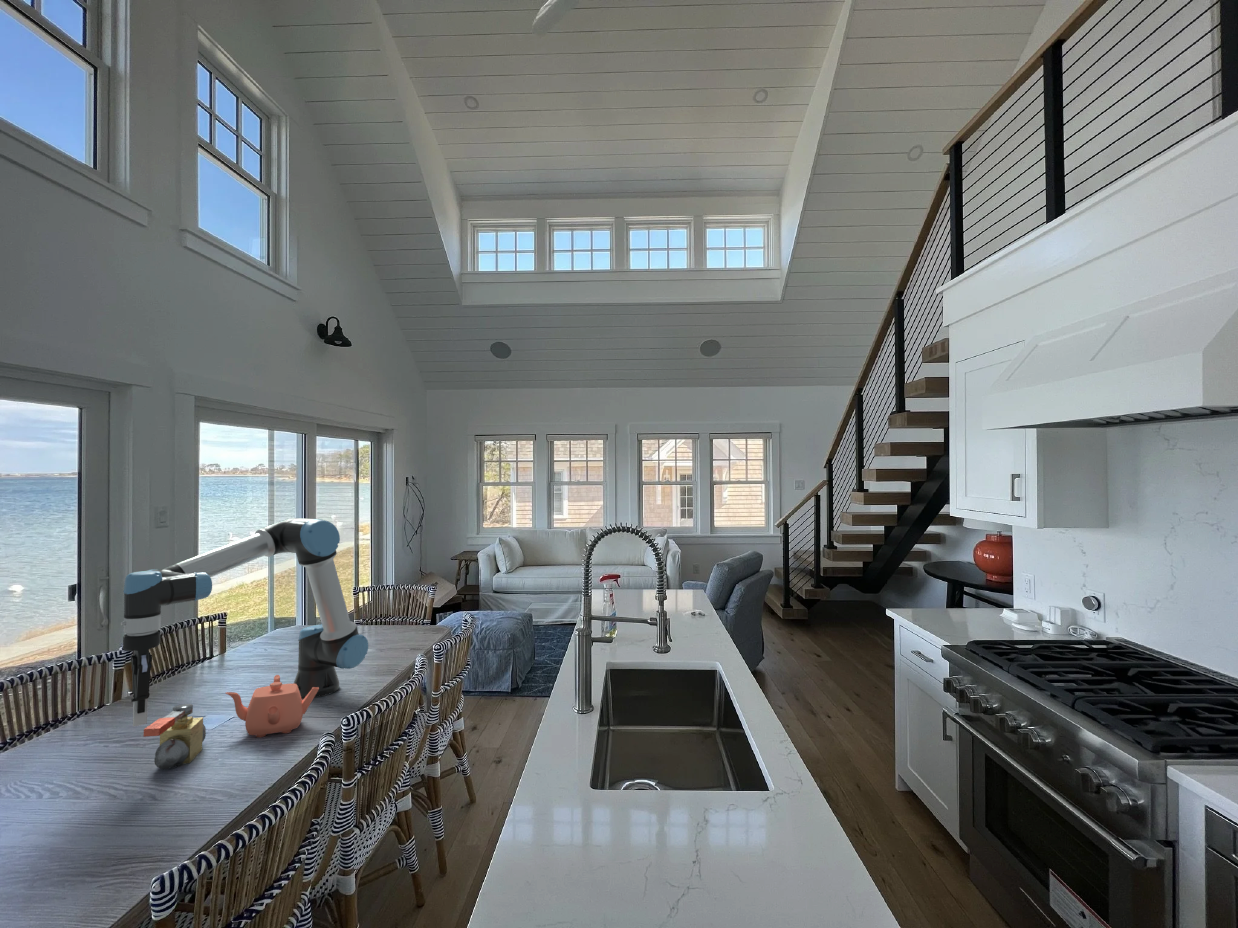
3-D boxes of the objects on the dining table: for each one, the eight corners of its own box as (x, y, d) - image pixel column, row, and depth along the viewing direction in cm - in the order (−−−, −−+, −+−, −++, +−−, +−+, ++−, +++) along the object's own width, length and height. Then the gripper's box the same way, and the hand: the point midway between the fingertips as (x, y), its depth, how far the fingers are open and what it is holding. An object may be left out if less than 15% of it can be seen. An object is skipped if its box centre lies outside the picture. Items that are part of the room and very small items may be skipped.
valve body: (180, 744, 169) (182, 703, 169) (209, 742, 171) (211, 701, 171) (148, 775, 152) (150, 729, 152) (181, 771, 154) (183, 726, 154)
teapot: (222, 737, 174) (224, 689, 175) (275, 714, 192) (277, 670, 192) (271, 746, 169) (273, 697, 169) (321, 721, 187) (323, 677, 187)
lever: (178, 710, 163) (178, 704, 163) (195, 709, 164) (196, 703, 164) (141, 736, 147) (141, 729, 147) (161, 735, 148) (161, 728, 148)
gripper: (120, 629, 156) (117, 720, 156) (126, 640, 147) (124, 736, 146) (156, 624, 161) (154, 712, 161) (164, 634, 152) (162, 727, 152)
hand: (139, 724), depth 154 cm, fingers closed
